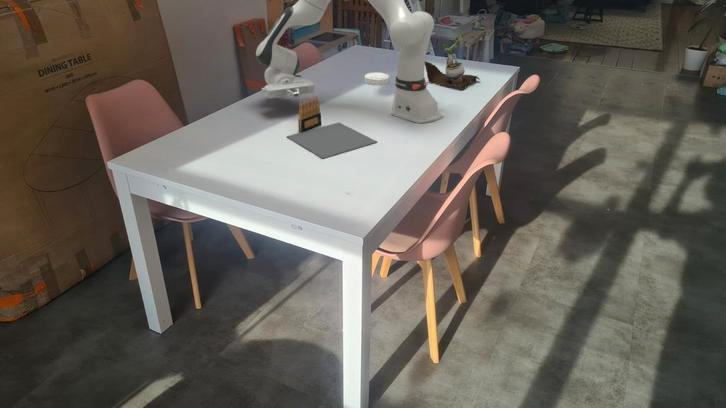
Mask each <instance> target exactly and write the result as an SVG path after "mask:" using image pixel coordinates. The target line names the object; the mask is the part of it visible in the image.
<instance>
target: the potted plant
mask: <svg viewBox="0 0 726 408" xmlns="http://www.w3.org/2000/svg"><path fill="white" fill-rule="evenodd" d="M453 39H454V40H455V41H454V44H452V46H451V47H449V45H447V43H442V45H441V48H442V49H444V51H445V52H446V53H444V55H445V56H447V58H446V61H445V62H446V63H445V65H446V66H445V73H443V71H441V70H440V69H439V68H438V67H437V66H436V65H435V64H433V63H431V62H429V61H426V60H425V71H426V76H427V79H428V83H430V84H433V85H436V86H440V87H441V86H442V87H443V86H447V87H448V86H450V87H451V86H453V87H456V88H459V89H461V90H466V88H467V87H468V85H470V83H476V82H477V80H478V81H479V80H480V81H481V78H479V77H478V76H477V75H472V74H465V71H466V70H465V68H464V64H463V62H458V60H457V56H456V54H455V53H453V50H456V48H458V46H457V45H456V44H457V43H458V42H459V43H460V42H463V35H459V36H456V37H454V38H453ZM452 53H453V54H452Z"/></svg>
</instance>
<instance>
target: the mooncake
mask: <svg viewBox="0 0 726 408" xmlns="http://www.w3.org/2000/svg"><path fill="white" fill-rule="evenodd" d="M389 81H390V77H389V75H388V74H387V73H384V72H378V71H377V72H368V73H366V74H365V75H364V81H363V82H364V84H366V85H371V86H385V85H387V84H388V83H389Z"/></svg>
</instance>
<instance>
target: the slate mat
mask: <svg viewBox="0 0 726 408" xmlns="http://www.w3.org/2000/svg"><path fill="white" fill-rule="evenodd" d="M286 138H287V139H289V140H290V141H292V142H294V143H296V144H297V145H299V146H300V147H302V148H303V149H305V150H306V151H309V152H310V153H312V154H314V155H315V156H317V157H318V158H320V159H322V160H325V159H329V158H332V157H335V156H338V155H342V154H344V153H347V152H348V153H349V152H351V151H353V150H358V149H360V148H364V147H367V146H370V145H371V146H372V145H375V144H377V143H378V141H377V140H376V139H373V138H371V137H369V136H367V135H365V134H363V133H361V132H360V131H357V130H355V129H353V128H351V127H349V126H347V125H345V124H343V123H341V122H339V121H338V122H335V123H330V124H327V125H323V126H319V127H315V128H313V129H310V130H308V131H305V132H297V133H294V134H290V135H286Z"/></svg>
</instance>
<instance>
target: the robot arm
mask: <svg viewBox="0 0 726 408" xmlns="http://www.w3.org/2000/svg"><path fill="white" fill-rule="evenodd" d="M331 1H332V0H298V1H296V2H295V4H294V5H292V6H288V7H286V8H285V9H284V10H283V12H281V14H280V15H279V17H278V18H277V19H276V21H275V23H274V24H273V25H272V27H271V29H270V30H269V31H268V33H267V35H266V36H265V37H264V39H262V40H261V41H260V42H259V44H258V45H257V47H256V49H255V57H256V60H257V62H258V63H259V64H260V65H261V66H265V67H267V68H266V69H265V71H264V80H265V82H266V85H265V86H264V87H262V88H261V91H262V92H263V93H264V94H265V96H266V97H267V98H268V99H276V98H284V97H292V98H297V97H300V96H301V95H304V94H312V93H313V94H314V92H315V84H314V82H313V81H311V80H310V79H309V78H305V76H304V75H302V74H301V75H299V74H297V72H298V71H299V68H300V58H299V55H298V53H297V52H296V51H294V50H291V49H289V48H287V47H284V46H282V45H278V42H279V40H280V39H281V37H282V36H283V34H284V33H285V32H286V30H287V29H289V28H290V27H293V26H312V25H316V24H317V23H319V22H320V20H321V19H322V17H323V15H324V13H325V12H326V10H327V8H328V5H329V4H330V2H331ZM344 1H345V2H346V1H347V2H351V1H353V0H344ZM367 1H368V3H369V4H370V5H371V6H372V7H373V8H374V10H375V11H376V12H377V13H378V14H379V15H380V17H381V18H382V19H383V20H384V22H385V24H386V26H387V27H388V29H389V35H390V39H391V41H392V42H393V43H394V44H395V45H397V46H398V47H400V48H401V49H400V52H399V53H398V56H397V63H396V65H397V66H396V67H397V68H396V76H395V80H394V82H395V85H394V86H395V92H394V96H393V100H392V101H393V103H392V107H391V111H390V115H391V116H393V117H397V118H399V119H404V120H407V121H410V122H414V123H417V124H424V123H425V124H426V123H431V122H435V121H437V120H440V119H442V118H443V115H444V114H443V113H441V112H440V111H439V110H438V102H437V100H436V99H435V97H434V96H433V95H432V94H431V93H430V91H429V90H428V89H427V86H428V85H429V81H427V82H426V78H425V69H426V66H425V61H426V58H427V52H428V47H429V45H430V40H431V35H432V32H433V31H434V28H435V20H434V18H433V16H432V15H431V14H430V13H428V12H426V11H420V10H419V11H414V12H412V11H410V9H409V8H408V6H407V5H406V2H405V0H367Z"/></svg>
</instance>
